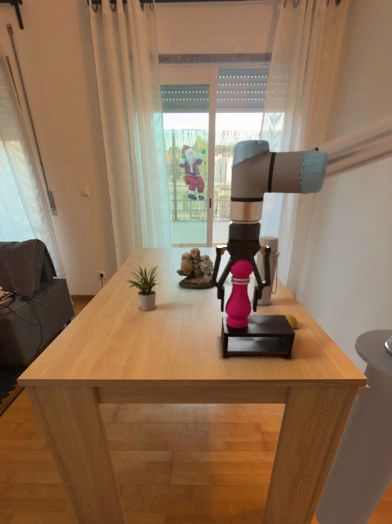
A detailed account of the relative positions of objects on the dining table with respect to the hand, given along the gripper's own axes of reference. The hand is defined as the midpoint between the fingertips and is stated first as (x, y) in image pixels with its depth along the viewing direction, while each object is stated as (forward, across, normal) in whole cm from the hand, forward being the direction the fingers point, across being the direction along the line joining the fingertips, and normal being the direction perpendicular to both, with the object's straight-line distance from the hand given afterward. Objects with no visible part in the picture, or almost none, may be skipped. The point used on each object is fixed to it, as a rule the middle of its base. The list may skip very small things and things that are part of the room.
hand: (238, 310), depth 79 cm
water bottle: (+12, -14, -35) cm, 40 cm away
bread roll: (+12, -18, -15) cm, 26 cm away
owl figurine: (+12, +14, -57) cm, 60 cm away
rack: (+12, -6, 0) cm, 13 cm away
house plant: (+12, +32, -31) cm, 46 cm away
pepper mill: (+4, 0, 0) cm, 4 cm away
